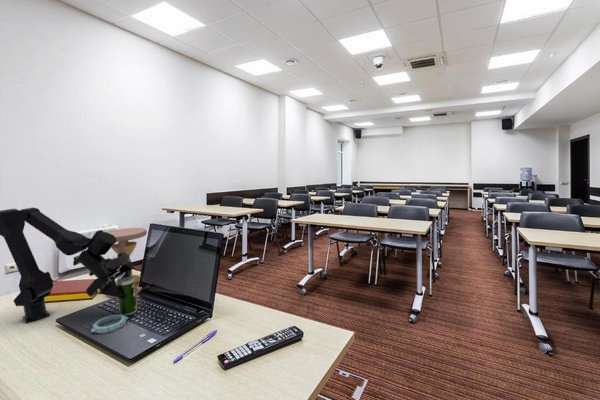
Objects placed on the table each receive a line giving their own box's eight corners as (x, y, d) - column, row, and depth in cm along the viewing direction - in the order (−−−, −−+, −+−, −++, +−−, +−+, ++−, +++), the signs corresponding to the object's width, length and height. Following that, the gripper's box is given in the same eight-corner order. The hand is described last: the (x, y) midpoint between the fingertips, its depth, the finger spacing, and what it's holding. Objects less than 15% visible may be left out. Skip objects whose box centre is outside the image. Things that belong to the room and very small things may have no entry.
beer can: (120, 317, 101) (116, 283, 99) (119, 311, 105) (116, 278, 104) (138, 313, 104) (135, 279, 102) (136, 307, 108) (133, 275, 107)
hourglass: (114, 284, 134) (107, 229, 131) (156, 279, 138) (150, 226, 135) (97, 301, 117) (89, 239, 114) (146, 294, 121) (139, 234, 118)
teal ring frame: (87, 328, 96) (87, 323, 96) (122, 315, 104) (121, 311, 104) (96, 338, 91) (96, 332, 90) (132, 324, 98) (132, 318, 98)
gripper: (90, 255, 93) (128, 289, 93) (127, 240, 111) (159, 268, 112) (69, 280, 94) (107, 313, 95) (109, 261, 112) (140, 289, 113)
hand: (130, 294), depth 104 cm, fingers closed on beer can, 5 cm apart
